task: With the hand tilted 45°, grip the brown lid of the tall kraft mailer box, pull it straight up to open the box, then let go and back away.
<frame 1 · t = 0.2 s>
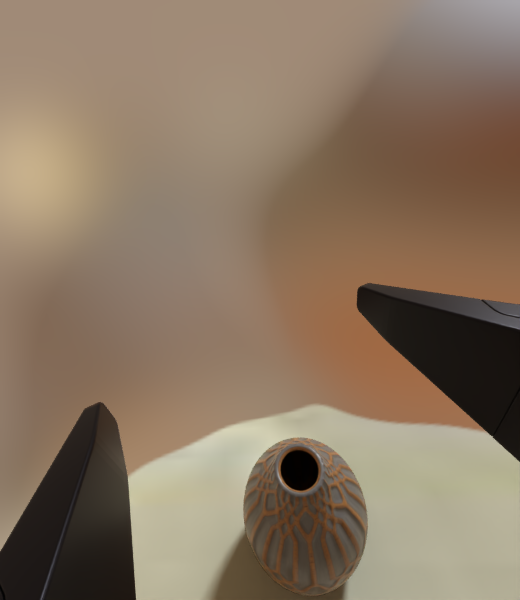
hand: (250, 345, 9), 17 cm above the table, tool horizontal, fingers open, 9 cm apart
vase: (305, 529, 18), on the table
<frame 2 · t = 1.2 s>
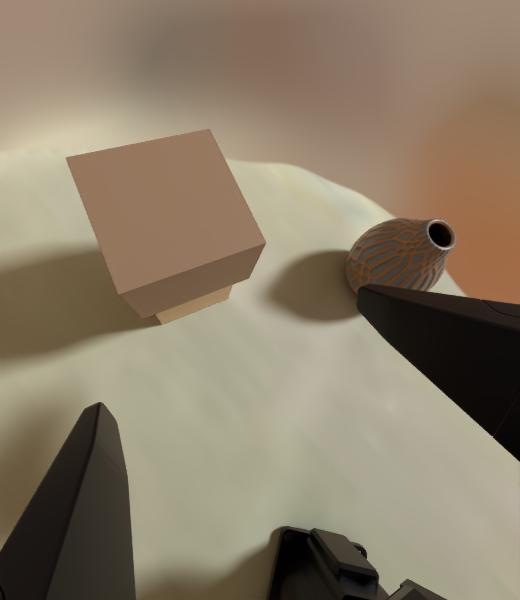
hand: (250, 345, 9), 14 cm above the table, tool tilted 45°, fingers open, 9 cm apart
mailer box: (183, 280, 23), on the table
vase: (366, 278, 27), on the table
lid: (173, 228, 15), point 9 cm above the table, slide at 0.0 cm
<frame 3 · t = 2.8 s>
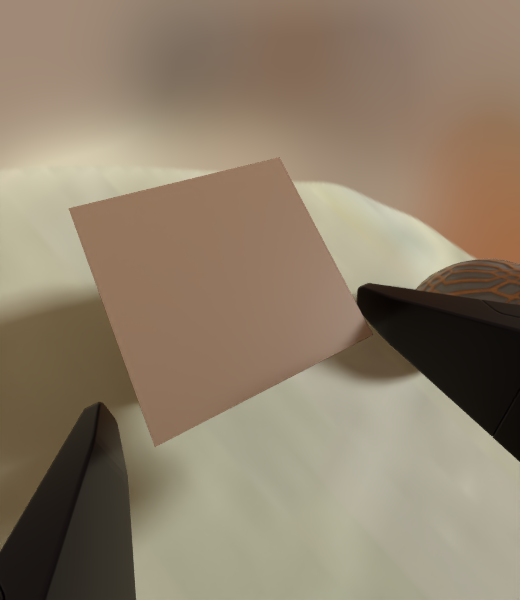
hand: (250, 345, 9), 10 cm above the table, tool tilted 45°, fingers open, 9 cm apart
vase: (427, 323, 23), on the table
lid: (221, 296, 11), point 9 cm above the table, slide at 0.0 cm
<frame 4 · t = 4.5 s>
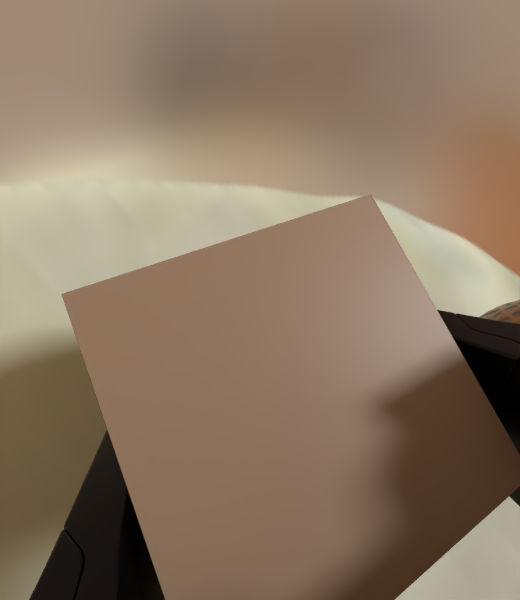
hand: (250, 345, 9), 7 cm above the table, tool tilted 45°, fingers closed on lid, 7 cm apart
vase: (481, 361, 20), on the table
lid: (279, 386, 8), point 8 cm above the table, slide at 0.0 cm, touching gripper
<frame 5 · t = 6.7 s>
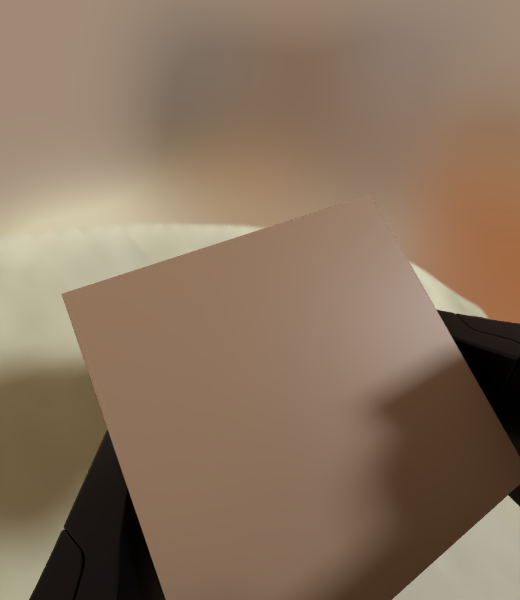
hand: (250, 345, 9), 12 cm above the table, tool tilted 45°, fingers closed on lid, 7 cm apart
lid: (279, 385, 8), point 14 cm above the table, slide at 5.4 cm, touching gripper
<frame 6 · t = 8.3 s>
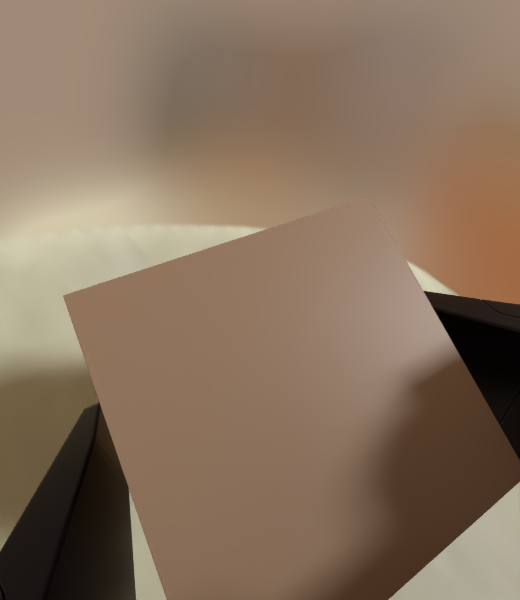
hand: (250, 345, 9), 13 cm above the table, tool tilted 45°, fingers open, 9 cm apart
lid: (278, 386, 8), point 14 cm above the table, slide at 5.4 cm
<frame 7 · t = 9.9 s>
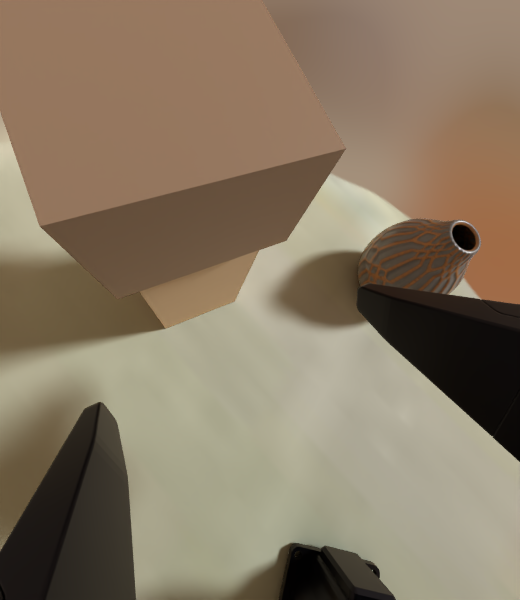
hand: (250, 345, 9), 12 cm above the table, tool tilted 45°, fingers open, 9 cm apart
mailer box: (187, 282, 22), on the table
vase: (378, 281, 26), on the table
lid: (170, 142, 9), point 14 cm above the table, slide at 5.4 cm
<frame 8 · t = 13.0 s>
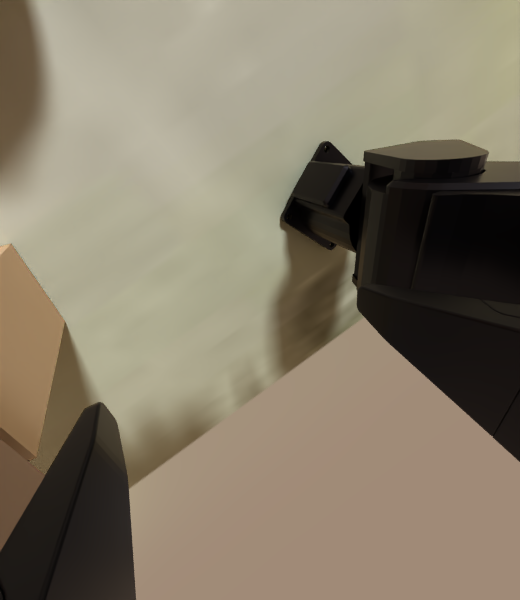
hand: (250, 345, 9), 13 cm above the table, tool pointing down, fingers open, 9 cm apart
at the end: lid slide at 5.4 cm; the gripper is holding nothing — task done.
